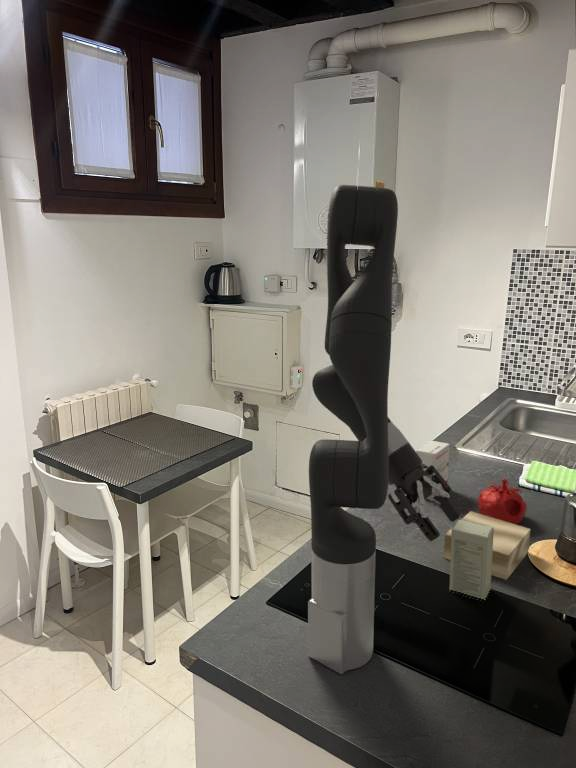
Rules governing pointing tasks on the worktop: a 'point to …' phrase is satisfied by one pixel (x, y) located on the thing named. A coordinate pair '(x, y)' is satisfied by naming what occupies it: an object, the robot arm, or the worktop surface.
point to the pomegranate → (502, 503)
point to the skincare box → (471, 558)
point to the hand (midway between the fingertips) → (446, 528)
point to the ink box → (435, 457)
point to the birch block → (499, 543)
